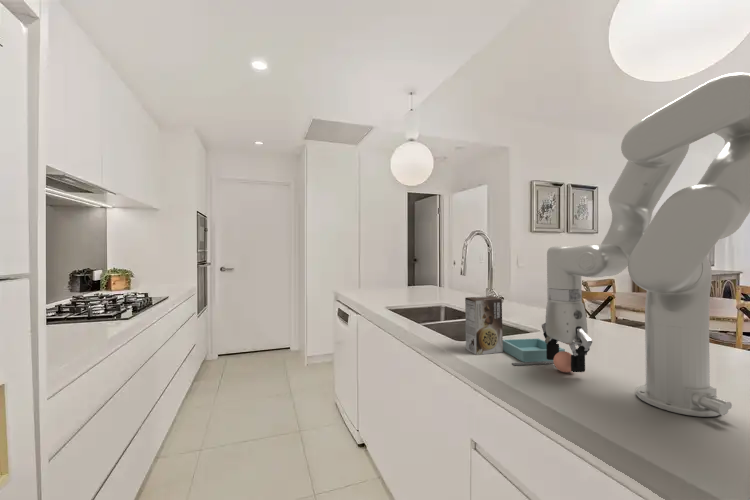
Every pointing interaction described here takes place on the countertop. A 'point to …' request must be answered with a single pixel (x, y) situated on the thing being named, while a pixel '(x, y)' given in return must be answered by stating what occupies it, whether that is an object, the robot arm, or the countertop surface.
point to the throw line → (533, 363)
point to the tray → (527, 349)
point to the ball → (563, 361)
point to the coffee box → (484, 325)
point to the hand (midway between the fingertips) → (564, 365)
